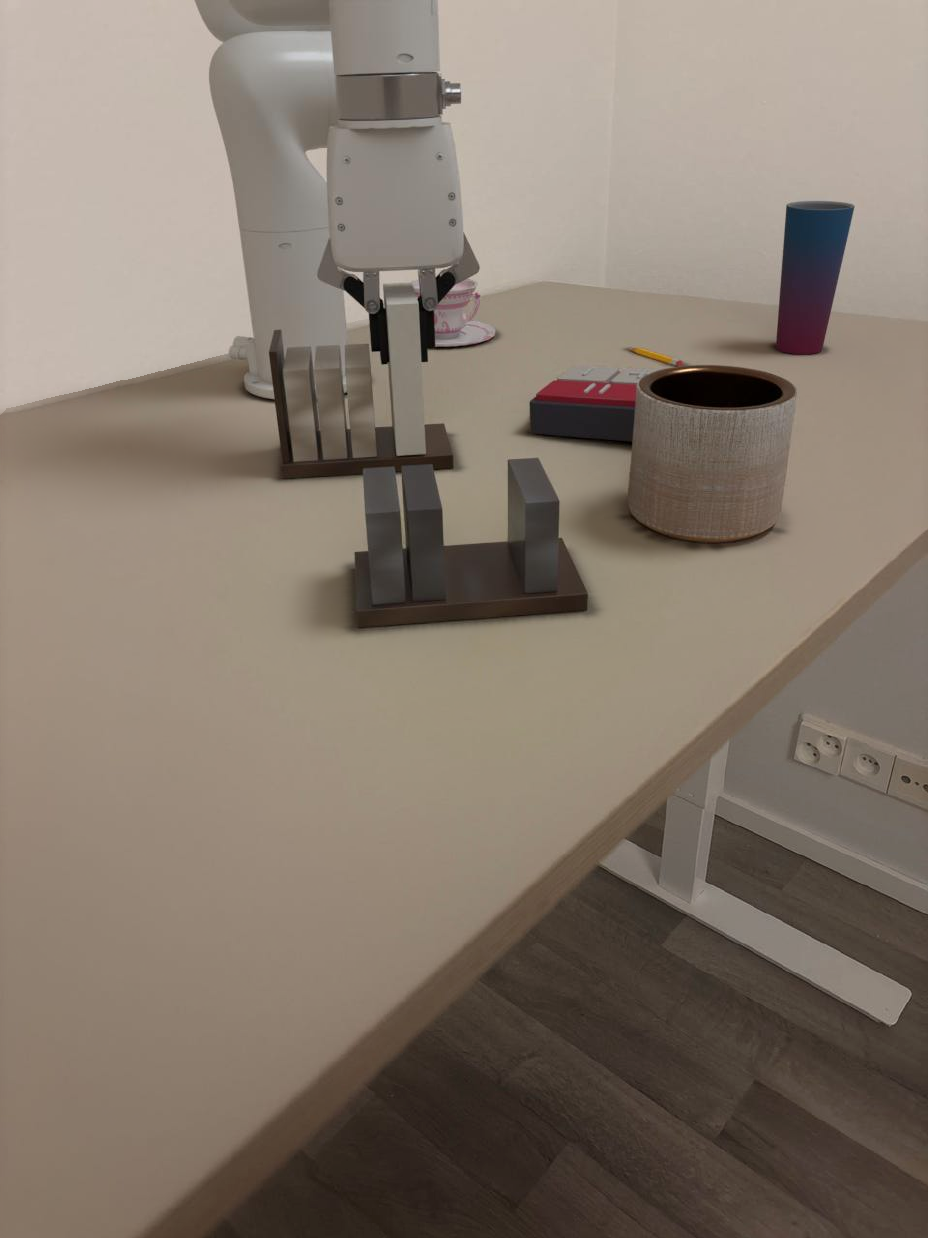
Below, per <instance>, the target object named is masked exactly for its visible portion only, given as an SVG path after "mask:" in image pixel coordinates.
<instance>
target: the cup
mask: <svg viewBox="0 0 928 1238" xmlns="http://www.w3.org/2000/svg"><path fill="white" fill-rule="evenodd" d="M854 211H855V205H854V204H853V203H849V202H845V201H844V202H843V201H835V200H834V201H832V200H803V201H793V202H789V203H786V207H785V218H784V220H785V221H784V232H783V245H782V246H783V248H782V257H781V258H782V259H781V271H780V272H781V273H780V285H779V286H780V287H779V299H778V312H777V327H776V341H775V349H776V350H778V351H779V352H782V353H786V354H790V355H792V354H793V355H813V354H818V353H821V352H822V351H823V349H824V344H825V339H826V335H827V330H828V327H829V326H828V325H829V322H830V317H831V312H832V308H833V304H834V300H835V296H836V291H837V286H838V281H839V279H840V278H839V277H840V273H841V269H842V264H843V259H844V255H845V250H846V246H847V243H848V242H847V241H848V237H849V233H850V229H851V225H852V220H853V215H854Z"/></svg>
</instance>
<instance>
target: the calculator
mask: <svg viewBox="0 0 928 1238" xmlns="http://www.w3.org/2000/svg"><path fill="white" fill-rule="evenodd" d="M662 369H663V368H642V367H625V368H623V369H622V370H621V371H620V367H617V366H602V365H601V366H600V365H599V366H598V365H581V364H580V365H577V364H575V365H571V366H570V367H569V368H568V369H566V370H565V371H564V372H562V373H561V374H560V375H558V376H557V377H556V379H555V380H552V381H551V382H549V383H548V384H546V386H544V387H543V388H542V389H540V390H539V391H538V392H537V393H536V394H535V396H534V397H533V398H532V399H531V400H530V401H529V402H528V403H529V428H530V433H531V434H533V435H543V436H544V435H545V436H555V437H570V438H571V437H572V438H580V439H582V438H583V439H593V440H607V441H619V442H631V443H632V441H633V429H634V417H635V403H636V389H637V383H638V381H639V380H640V379H641V378H642V377H644V376H645V375H647V374H650V373H652V372H655V371H658V370H662Z"/></svg>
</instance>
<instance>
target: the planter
mask: <svg viewBox="0 0 928 1238" xmlns="http://www.w3.org/2000/svg"><path fill="white" fill-rule="evenodd" d="M661 369H662V370H658V371H655V372H652V373H650V374H647V375H645V376H644V377H642V378H641V379H640V380H639V381H638V383H637V389H636V403H635V417H634V429H633V441H632V442H631V443H632V444H631V454H630V467H629V477H628V478H629V479H628V487H627V488H628V490H627V506H628V510H629V512H630V514H631V515H632V516H633V517H634V518H635V519H636V520H637V521H638V522H639V523H641V524H642V525H644V526H645V527H647V528H648V529H650V530H652V531H654V532H656V533H658V534H661V535H663V536H667V537H670V538H673V539H678V540H683V541H689V542H694V543H695V542H697V543H717V544H718V543H719V544H720V543H727V542H728V543H729V542H736V541H743V540H746V539H749V538H752V537H755V536H758V535H760V534H762V533H764V532H766V531H768V530H769V529H771V528H772V527H773V526H775V525H776V523H777V522H778V520H779V518H780V515H781V512H782V507H783V501H784V493H785V485H786V478H787V470H788V461H789V456H790V455H789V454H790V449H791V448H790V447H791V441H792V433H793V425H794V421H795V420H794V419H795V412H796V407H797V399H798V389H797V387H796V386H795V385H794V384H793V383H792V382H790V381H789V380H788V379H786V378H783V377H781V376H779V375H776V374H774V373H770V372H768V371H763V370H759V369H754V368H749V367H748V368H747V367H742V366H734V365H722V364H720V365H719V364H695V365H694V364H693V365H692V364H691V365H682V366H679V367H677V366H673V367H667V368H661Z"/></svg>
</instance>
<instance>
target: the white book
mask: <svg viewBox="0 0 928 1238" xmlns="http://www.w3.org/2000/svg"><path fill="white" fill-rule="evenodd" d="M382 293H383V304H384V308H385V309H386V315H387V330H388V345H389V360H390V362H389V363H388V364H387V366H388V368H387V369H388V380H389V381H388V383H389V398H390V412H391V413H390V414H391V425H392V427H393V434H394V441H395V448H396V455H397V456H402V455H417V454H426V445H425V424H426V423H425V408H424V407H425V406H424V405H425V404H424V388H423V387H424V386H423V385H424V384H423V366H422V363H423V362H421V343H420V323H419V303H418V300H417V297H416V294H415V291H414V288H413V285H412V281H409V282H389V283H383V284H382Z"/></svg>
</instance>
